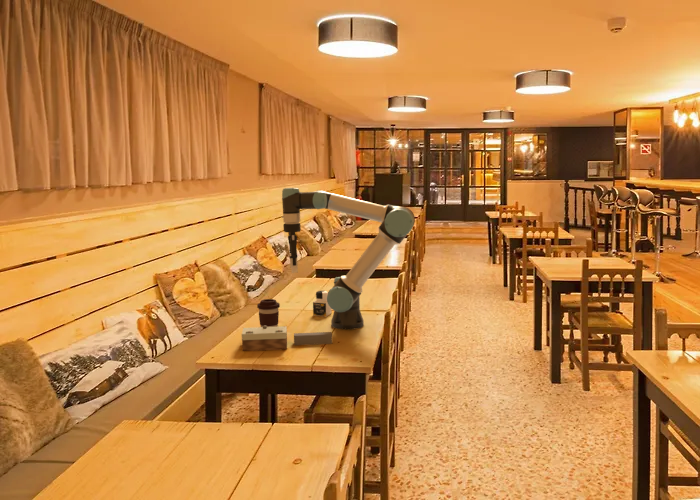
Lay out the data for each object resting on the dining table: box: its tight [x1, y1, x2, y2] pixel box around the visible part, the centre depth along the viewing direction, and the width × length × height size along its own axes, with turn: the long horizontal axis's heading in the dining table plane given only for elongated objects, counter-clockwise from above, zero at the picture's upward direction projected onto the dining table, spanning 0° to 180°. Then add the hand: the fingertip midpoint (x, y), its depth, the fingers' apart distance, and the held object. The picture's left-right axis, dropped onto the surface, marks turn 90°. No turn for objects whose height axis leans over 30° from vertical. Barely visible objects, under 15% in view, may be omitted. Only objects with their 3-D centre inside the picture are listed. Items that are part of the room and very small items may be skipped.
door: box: [241, 325, 288, 341], centre depth 265 cm, size 18×10×4 cm, turn 95°
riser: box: [293, 331, 333, 346], centre depth 271 cm, size 16×4×4 cm, turn 95°
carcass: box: [241, 330, 288, 352], centre depth 268 cm, size 18×12×8 cm
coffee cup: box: [256, 298, 281, 327], centre depth 288 cm, size 10×10×15 cm
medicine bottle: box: [312, 290, 333, 318], centre depth 321 cm, size 7×7×12 cm
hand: (293, 270), depth 286 cm, fingers open, 13 cm apart
